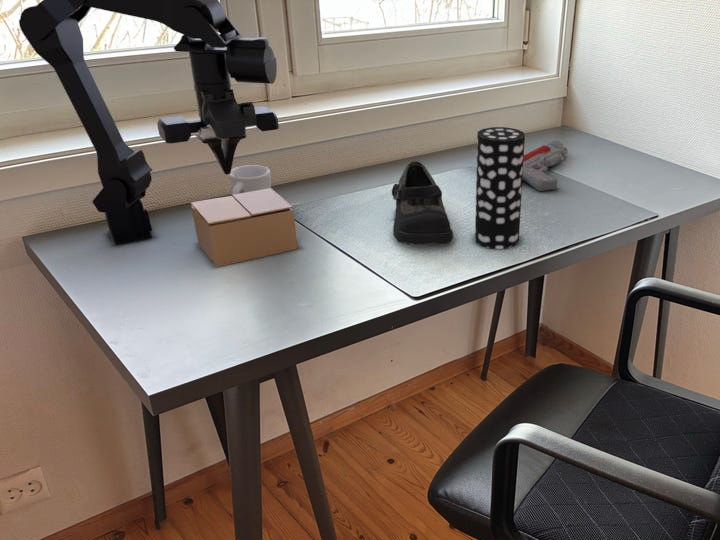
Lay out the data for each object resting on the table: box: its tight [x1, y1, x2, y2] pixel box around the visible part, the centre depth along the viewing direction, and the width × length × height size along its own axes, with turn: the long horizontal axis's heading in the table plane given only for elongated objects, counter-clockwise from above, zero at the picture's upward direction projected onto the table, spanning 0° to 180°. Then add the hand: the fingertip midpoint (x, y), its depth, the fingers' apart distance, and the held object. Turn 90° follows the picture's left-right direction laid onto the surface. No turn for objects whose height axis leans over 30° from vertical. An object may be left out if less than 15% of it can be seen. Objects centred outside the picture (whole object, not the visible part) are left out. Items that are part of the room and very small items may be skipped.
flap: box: [190, 195, 251, 224], centre depth 128 cm, size 7×11×1 cm
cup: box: [227, 164, 272, 198], centre depth 145 cm, size 11×8×8 cm
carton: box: [190, 187, 299, 268], centre depth 131 cm, size 15×11×8 cm
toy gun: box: [522, 140, 569, 192], centre depth 171 cm, size 4×27×15 cm
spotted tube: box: [474, 126, 526, 250], centre depth 133 cm, size 8×8×20 cm
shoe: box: [391, 161, 454, 245], centre depth 140 cm, size 11×24×10 cm, turn 11°
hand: (227, 173), depth 128 cm, fingers closed
